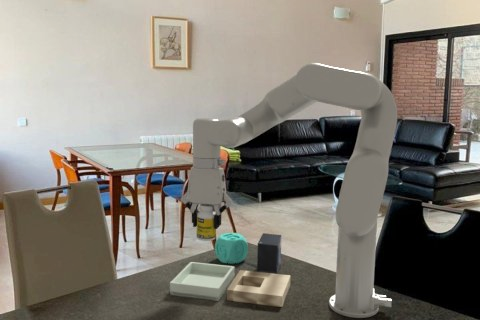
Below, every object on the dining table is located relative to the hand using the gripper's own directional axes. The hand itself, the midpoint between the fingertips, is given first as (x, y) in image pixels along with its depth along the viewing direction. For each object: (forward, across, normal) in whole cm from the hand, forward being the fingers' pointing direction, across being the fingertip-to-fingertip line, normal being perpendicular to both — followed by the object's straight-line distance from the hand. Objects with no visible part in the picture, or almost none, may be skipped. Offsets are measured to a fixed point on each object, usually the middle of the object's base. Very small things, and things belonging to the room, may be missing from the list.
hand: (206, 226), depth 133 cm
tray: (+18, +1, 0) cm, 18 cm away
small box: (+18, -15, -16) cm, 29 cm away
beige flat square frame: (+18, -16, 0) cm, 24 cm away
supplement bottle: (+4, 0, 0) cm, 4 cm away
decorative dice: (+18, -1, -22) cm, 29 cm away
